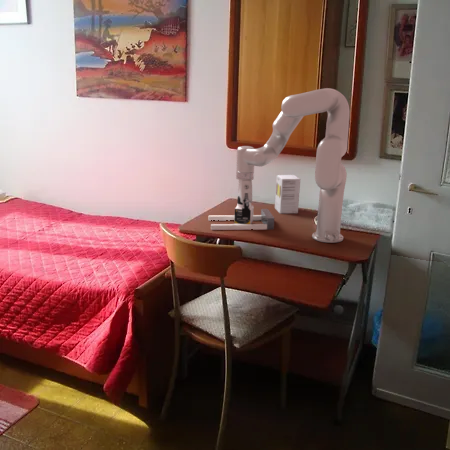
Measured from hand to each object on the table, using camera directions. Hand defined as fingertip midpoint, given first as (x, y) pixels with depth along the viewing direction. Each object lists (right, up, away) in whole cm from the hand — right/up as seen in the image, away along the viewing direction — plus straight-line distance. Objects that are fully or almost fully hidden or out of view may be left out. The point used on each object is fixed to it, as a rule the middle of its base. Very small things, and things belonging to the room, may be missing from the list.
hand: (243, 214), depth 234 cm
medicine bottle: (0, -4, +1) cm, 4 cm away
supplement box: (+21, +2, +25) cm, 33 cm away
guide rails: (-3, -4, +1) cm, 6 cm away
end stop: (+10, -4, +3) cm, 12 cm away
